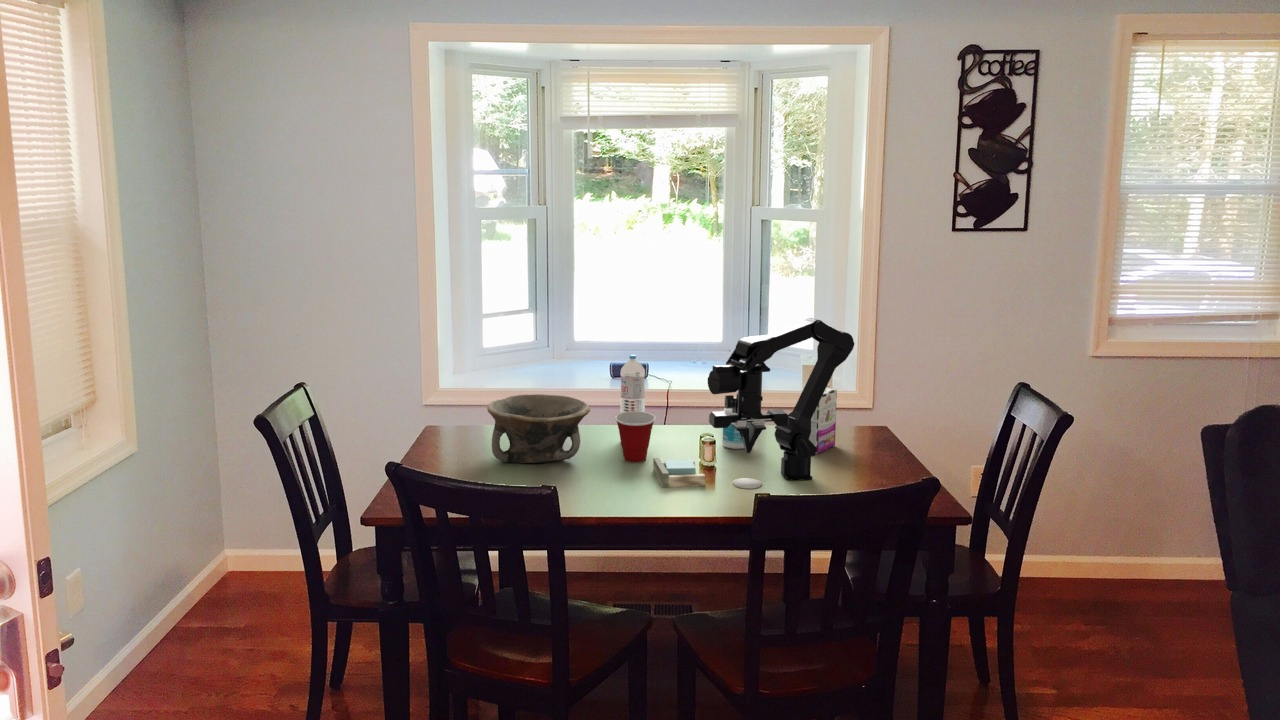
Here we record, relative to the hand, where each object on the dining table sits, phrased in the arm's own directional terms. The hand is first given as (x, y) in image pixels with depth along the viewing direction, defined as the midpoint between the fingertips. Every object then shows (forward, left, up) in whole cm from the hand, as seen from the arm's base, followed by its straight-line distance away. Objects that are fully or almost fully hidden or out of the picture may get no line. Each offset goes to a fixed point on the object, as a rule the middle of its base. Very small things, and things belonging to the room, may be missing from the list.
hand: (748, 452), depth 238 cm
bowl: (+49, -29, -8) cm, 58 cm away
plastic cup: (+24, -24, -8) cm, 35 cm away
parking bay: (+15, -7, -8) cm, 18 cm away
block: (+16, -7, -8) cm, 19 cm away
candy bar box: (-28, -27, -8) cm, 40 cm away
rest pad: (0, 0, -8) cm, 8 cm away
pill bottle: (-6, -33, -8) cm, 35 cm away
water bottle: (+22, -41, -8) cm, 47 cm away
